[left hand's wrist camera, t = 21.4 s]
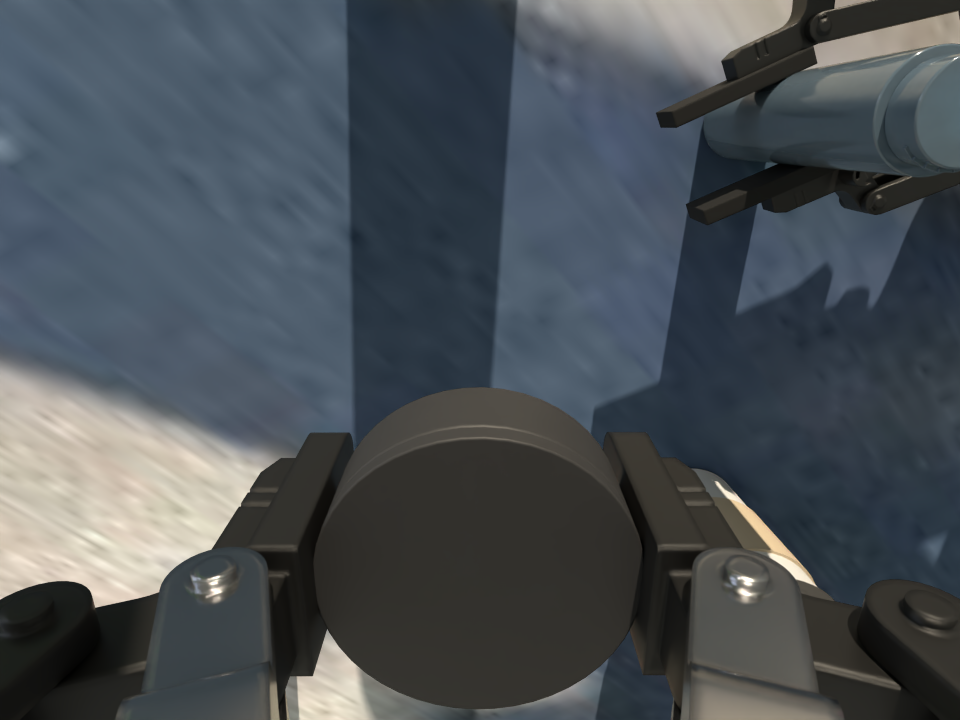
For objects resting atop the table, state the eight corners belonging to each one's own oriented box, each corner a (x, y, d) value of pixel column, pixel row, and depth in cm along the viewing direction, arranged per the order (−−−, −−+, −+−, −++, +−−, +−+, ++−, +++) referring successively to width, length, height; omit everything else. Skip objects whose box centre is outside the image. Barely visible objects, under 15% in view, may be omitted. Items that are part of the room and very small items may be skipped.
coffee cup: (708, 577, 46) (805, 772, 32) (600, 536, 45) (653, 721, 31) (775, 481, 44) (914, 651, 30) (662, 435, 42) (751, 588, 28)
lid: (634, 389, 10) (666, 442, 8) (605, 628, 12) (626, 713, 10) (331, 381, 10) (300, 432, 8) (344, 622, 12) (321, 707, 10)
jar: (718, 172, 36) (924, 204, 20) (692, 105, 35) (887, 82, 19) (785, 136, 36) (1054, 138, 19) (760, 67, 34) (1026, 7, 18)
